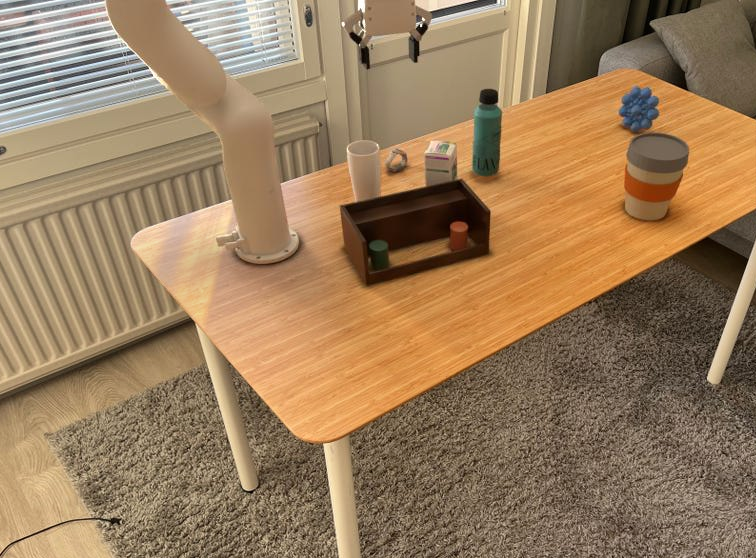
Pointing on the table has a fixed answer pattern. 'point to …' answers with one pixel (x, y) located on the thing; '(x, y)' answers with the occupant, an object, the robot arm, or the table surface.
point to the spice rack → (414, 226)
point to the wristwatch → (391, 157)
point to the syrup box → (440, 162)
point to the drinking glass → (364, 169)
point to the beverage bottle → (487, 134)
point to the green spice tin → (379, 255)
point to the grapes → (639, 109)
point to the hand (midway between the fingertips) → (389, 63)
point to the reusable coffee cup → (653, 173)
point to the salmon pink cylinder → (458, 236)
